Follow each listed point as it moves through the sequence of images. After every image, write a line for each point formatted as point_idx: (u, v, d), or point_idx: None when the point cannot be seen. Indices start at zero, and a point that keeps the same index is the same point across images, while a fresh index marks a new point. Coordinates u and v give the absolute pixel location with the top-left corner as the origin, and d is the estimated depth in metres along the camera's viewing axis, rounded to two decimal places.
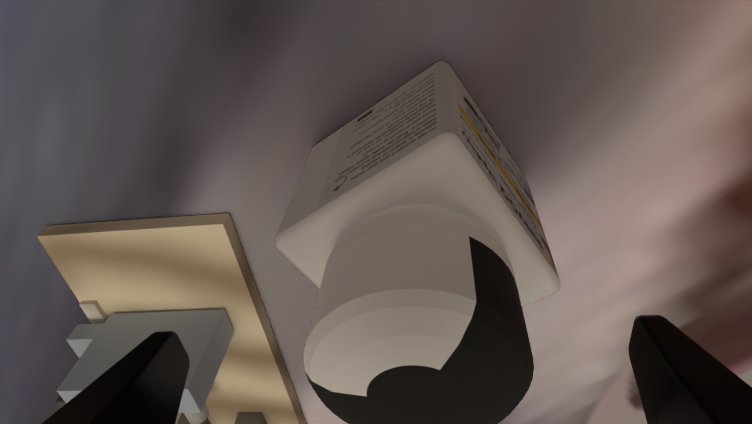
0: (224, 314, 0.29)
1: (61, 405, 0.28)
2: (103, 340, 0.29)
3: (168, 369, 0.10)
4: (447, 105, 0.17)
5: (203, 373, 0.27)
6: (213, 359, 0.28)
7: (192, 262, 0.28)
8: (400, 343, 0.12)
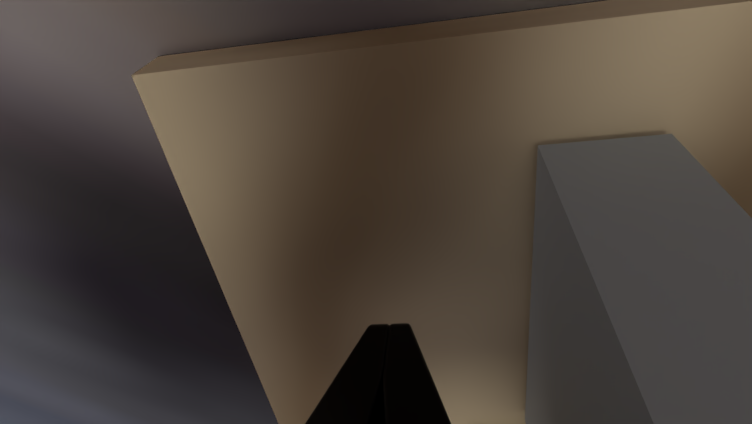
0: (555, 149, 0.08)
1: None
2: None
3: None
4: None
5: (704, 336, 0.05)
6: (687, 251, 0.05)
7: (314, 199, 0.09)
8: None
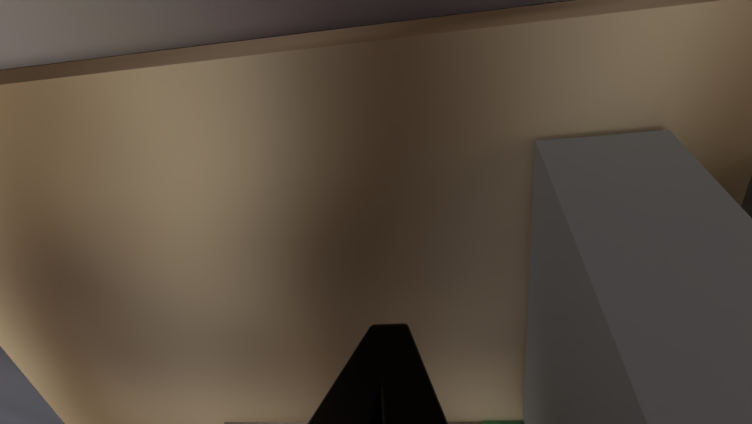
0: (553, 145, 0.08)
1: None
2: None
3: None
4: None
5: (694, 329, 0.05)
6: (680, 246, 0.05)
7: (1, 216, 0.10)
8: None
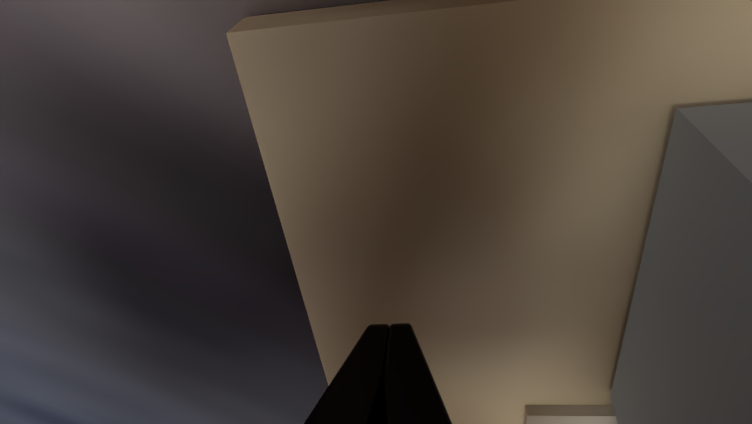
0: (698, 111, 0.07)
1: None
2: None
3: None
4: None
5: None
6: None
7: (398, 166, 0.09)
8: None
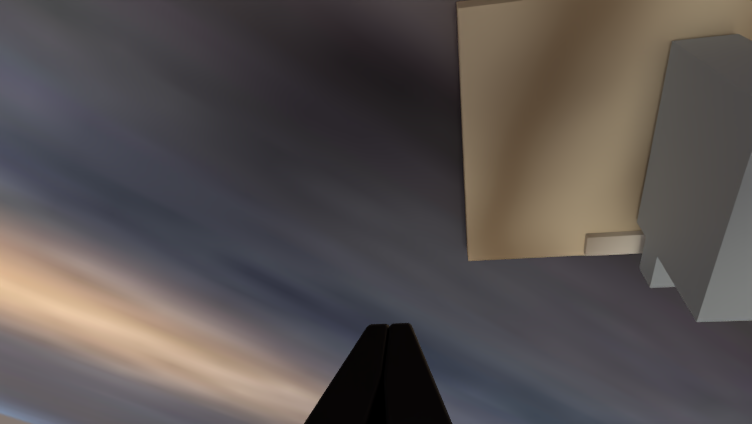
0: (682, 41, 0.16)
1: None
2: (660, 239, 0.18)
3: None
4: None
5: None
6: None
7: (531, 77, 0.18)
8: None
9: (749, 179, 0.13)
